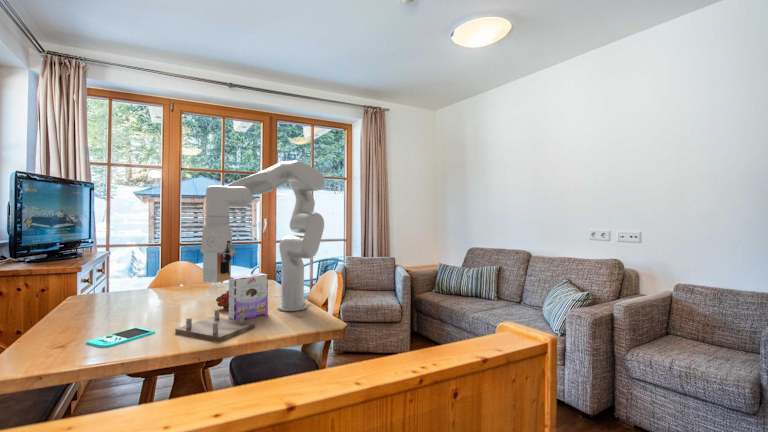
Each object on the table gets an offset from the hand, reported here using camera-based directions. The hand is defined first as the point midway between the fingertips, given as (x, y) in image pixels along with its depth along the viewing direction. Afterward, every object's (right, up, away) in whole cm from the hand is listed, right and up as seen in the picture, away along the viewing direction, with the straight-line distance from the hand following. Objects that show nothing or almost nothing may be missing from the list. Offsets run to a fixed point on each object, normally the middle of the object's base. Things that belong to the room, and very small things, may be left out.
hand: (217, 271), depth 129 cm
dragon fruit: (-8, -20, +28) cm, 35 cm away
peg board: (-1, -21, 0) cm, 21 cm away
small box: (0, -3, 0) cm, 3 cm away
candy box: (+4, -21, +18) cm, 27 cm away
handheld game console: (-27, -21, -9) cm, 36 cm away
